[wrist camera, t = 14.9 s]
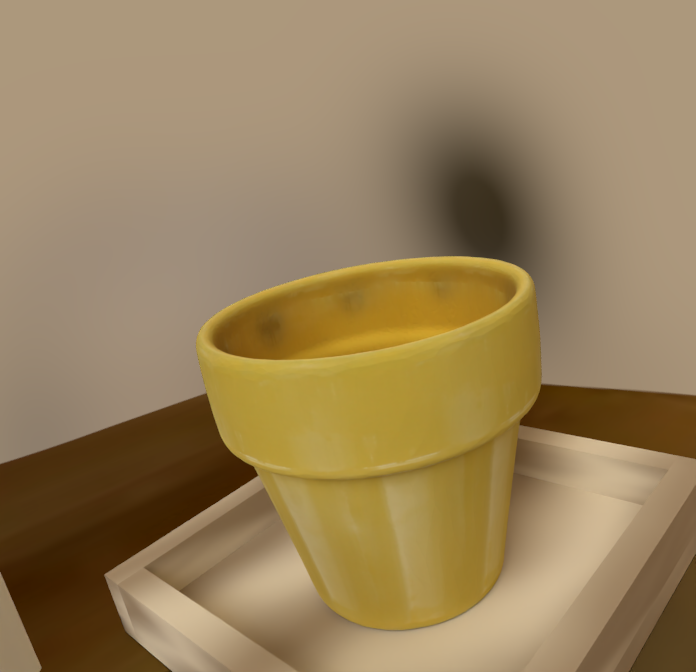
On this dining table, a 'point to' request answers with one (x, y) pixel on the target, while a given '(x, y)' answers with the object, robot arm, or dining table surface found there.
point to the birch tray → (454, 634)
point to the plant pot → (384, 424)
